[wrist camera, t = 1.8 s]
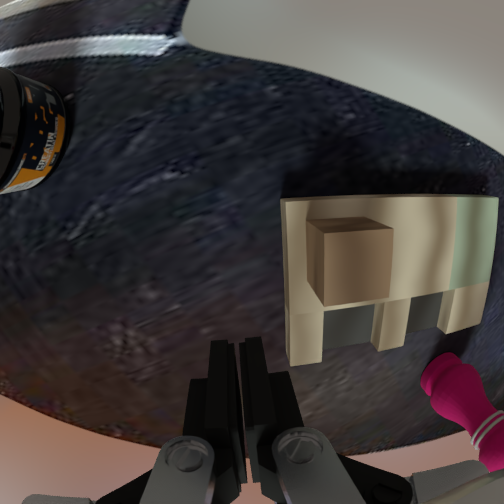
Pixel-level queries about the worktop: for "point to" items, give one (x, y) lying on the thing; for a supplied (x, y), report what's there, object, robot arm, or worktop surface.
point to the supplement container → (30, 131)
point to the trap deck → (393, 270)
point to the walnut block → (349, 259)
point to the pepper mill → (466, 405)
